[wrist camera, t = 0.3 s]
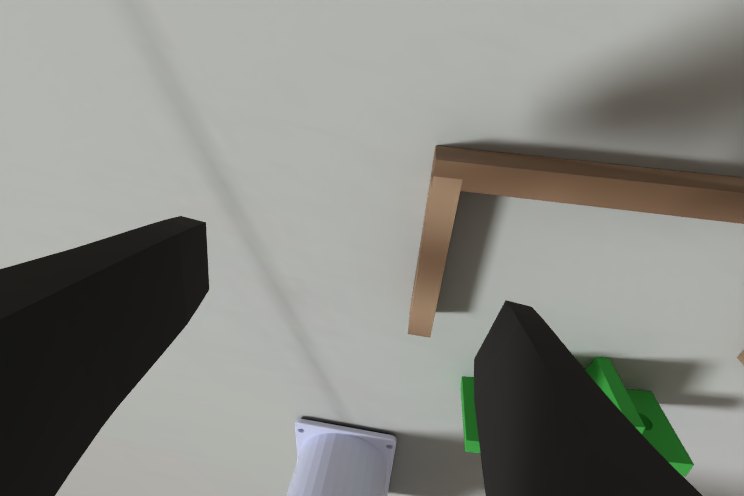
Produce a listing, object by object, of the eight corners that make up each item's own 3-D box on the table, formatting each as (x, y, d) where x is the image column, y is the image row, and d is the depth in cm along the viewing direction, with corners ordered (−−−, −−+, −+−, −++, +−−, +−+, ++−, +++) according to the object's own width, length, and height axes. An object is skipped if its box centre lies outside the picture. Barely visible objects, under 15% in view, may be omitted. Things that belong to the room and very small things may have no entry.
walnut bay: (761, 361, 20) (791, 393, 18) (410, 309, 21) (407, 334, 20) (915, 195, 14) (977, 218, 13) (435, 145, 16) (435, 159, 15)
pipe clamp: (664, 357, 21) (717, 434, 17) (643, 399, 23) (686, 476, 19) (463, 346, 23) (470, 413, 19) (459, 386, 24) (465, 454, 21)
